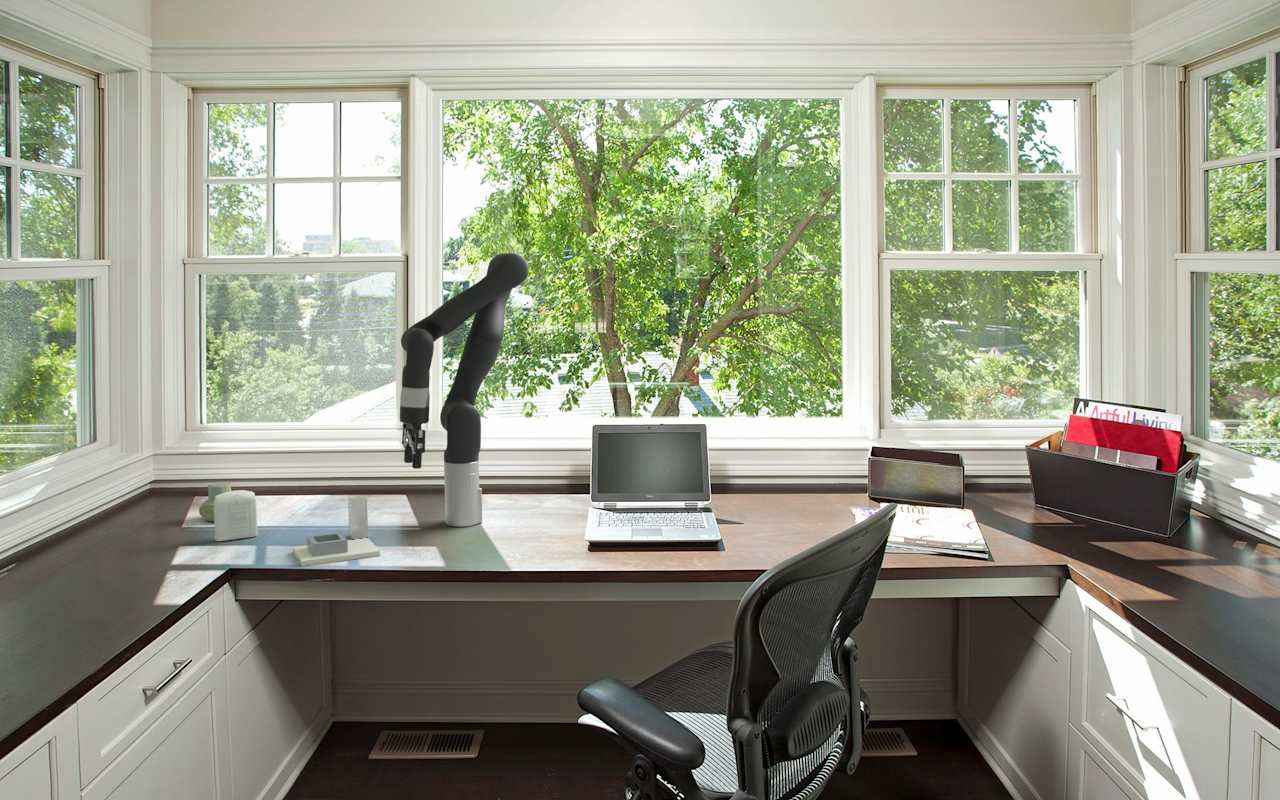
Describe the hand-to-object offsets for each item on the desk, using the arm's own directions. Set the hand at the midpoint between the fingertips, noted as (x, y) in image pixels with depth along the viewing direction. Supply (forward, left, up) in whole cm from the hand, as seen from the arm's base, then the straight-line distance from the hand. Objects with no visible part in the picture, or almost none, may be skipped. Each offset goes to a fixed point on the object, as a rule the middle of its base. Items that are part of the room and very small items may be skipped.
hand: (412, 465), depth 255 cm
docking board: (+23, +14, -17) cm, 32 cm away
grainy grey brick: (+15, +1, -17) cm, 23 cm away
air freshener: (+45, -34, -18) cm, 59 cm away
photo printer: (+43, -12, -17) cm, 48 cm away
